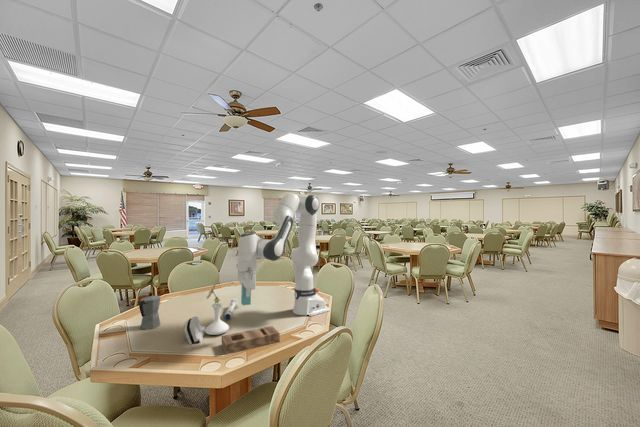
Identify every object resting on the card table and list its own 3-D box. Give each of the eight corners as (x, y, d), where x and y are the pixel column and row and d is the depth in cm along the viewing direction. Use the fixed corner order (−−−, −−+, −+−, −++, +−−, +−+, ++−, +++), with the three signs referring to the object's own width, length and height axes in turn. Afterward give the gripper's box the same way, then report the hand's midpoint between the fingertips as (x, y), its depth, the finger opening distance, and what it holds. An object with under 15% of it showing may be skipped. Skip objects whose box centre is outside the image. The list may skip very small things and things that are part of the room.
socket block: (272, 334, 137) (272, 325, 137) (279, 341, 128) (279, 333, 128) (221, 344, 125) (221, 336, 125) (225, 354, 117) (225, 344, 117)
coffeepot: (149, 321, 155) (149, 289, 155) (166, 321, 155) (166, 289, 155) (130, 333, 139) (130, 297, 140) (149, 333, 139) (149, 297, 140)
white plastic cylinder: (222, 314, 156) (230, 295, 181) (222, 325, 157) (231, 305, 181) (231, 313, 157) (239, 295, 181) (232, 324, 157) (239, 305, 182)
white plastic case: (200, 343, 127) (192, 323, 127) (190, 347, 126) (182, 328, 126) (205, 329, 144) (198, 311, 143) (196, 333, 142) (189, 315, 142)
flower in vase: (210, 328, 145) (210, 280, 146) (232, 328, 145) (232, 280, 145) (199, 338, 132) (199, 286, 133) (222, 338, 132) (222, 286, 132)
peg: (248, 302, 135) (249, 281, 136) (250, 304, 132) (251, 283, 133) (241, 303, 134) (241, 282, 134) (242, 305, 131) (243, 284, 131)
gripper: (259, 269, 126) (258, 300, 125) (248, 263, 144) (247, 290, 143) (245, 270, 123) (244, 301, 122) (235, 263, 141) (235, 291, 140)
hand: (246, 295), depth 133 cm, fingers closed on peg, 4 cm apart
